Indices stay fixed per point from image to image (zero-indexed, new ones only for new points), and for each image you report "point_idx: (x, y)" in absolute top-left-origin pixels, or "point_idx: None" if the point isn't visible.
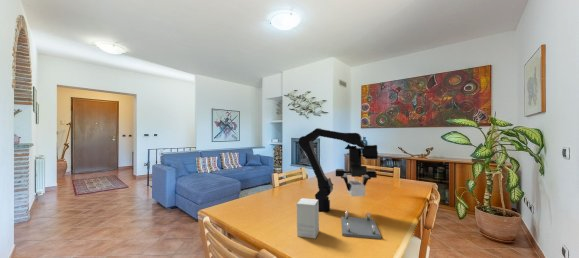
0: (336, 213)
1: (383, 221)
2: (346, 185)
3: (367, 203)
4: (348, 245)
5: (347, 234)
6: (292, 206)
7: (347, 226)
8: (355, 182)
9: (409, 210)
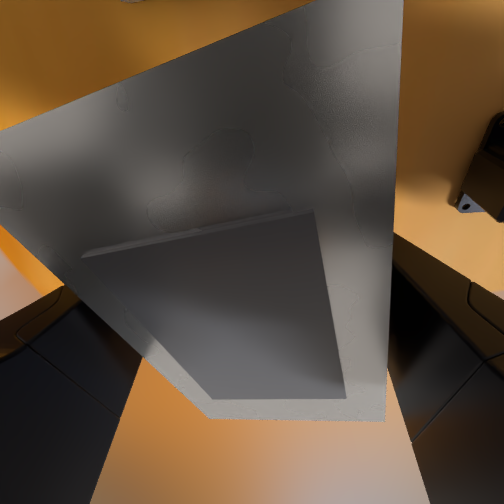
0: (426, 102)
1: (66, 28)
2: (444, 264)
3: None
4: None
5: None
6: None
7: None
8: (242, 351)
9: (32, 259)
